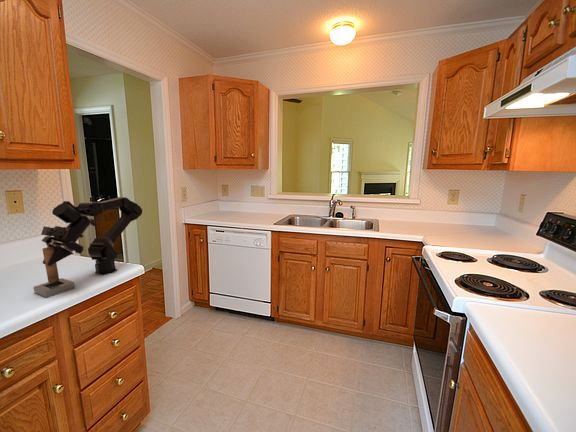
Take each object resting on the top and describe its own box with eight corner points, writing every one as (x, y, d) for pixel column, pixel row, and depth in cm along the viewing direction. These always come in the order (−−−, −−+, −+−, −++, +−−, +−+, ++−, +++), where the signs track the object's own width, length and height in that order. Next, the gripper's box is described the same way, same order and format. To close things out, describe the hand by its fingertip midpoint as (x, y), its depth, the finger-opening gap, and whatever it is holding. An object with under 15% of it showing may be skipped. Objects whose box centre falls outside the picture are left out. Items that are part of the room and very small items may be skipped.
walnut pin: (56, 278, 106) (51, 246, 104) (61, 280, 104) (55, 247, 102) (46, 281, 103) (40, 248, 101) (50, 283, 102) (44, 249, 99)
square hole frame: (62, 284, 110) (61, 278, 110) (74, 288, 106) (74, 282, 106) (34, 293, 102) (33, 286, 102) (46, 297, 98) (45, 291, 98)
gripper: (43, 215, 107) (11, 250, 99) (69, 219, 99) (36, 257, 91) (70, 231, 115) (42, 264, 108) (95, 235, 107) (67, 272, 99)
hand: (46, 264), depth 101 cm, fingers closed on walnut pin, 3 cm apart
